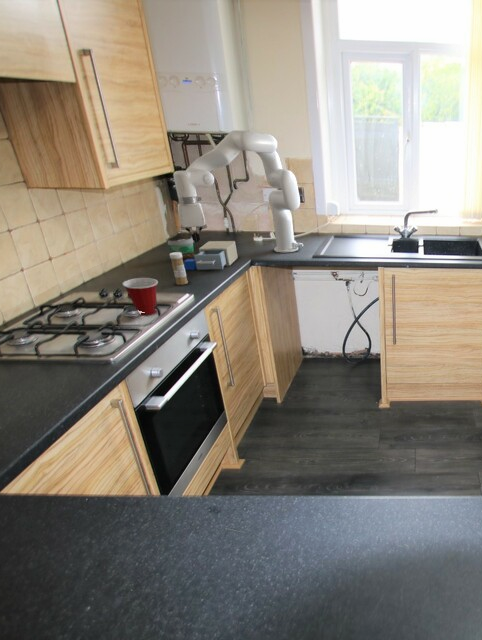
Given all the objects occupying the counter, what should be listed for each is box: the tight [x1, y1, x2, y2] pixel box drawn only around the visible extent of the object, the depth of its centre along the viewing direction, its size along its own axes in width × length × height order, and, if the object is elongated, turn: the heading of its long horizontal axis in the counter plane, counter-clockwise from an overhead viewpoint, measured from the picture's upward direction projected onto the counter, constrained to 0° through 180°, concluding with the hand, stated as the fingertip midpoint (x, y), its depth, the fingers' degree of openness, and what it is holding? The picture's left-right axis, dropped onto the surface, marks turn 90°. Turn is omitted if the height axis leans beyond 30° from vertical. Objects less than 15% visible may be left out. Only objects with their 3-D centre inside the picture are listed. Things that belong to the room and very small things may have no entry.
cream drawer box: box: [198, 240, 239, 267], centre depth 233 cm, size 15×13×9 cm
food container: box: [167, 236, 195, 261], centre depth 236 cm, size 12×6×10 cm, turn 143°
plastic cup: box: [121, 277, 159, 316], centre depth 171 cm, size 11×11×12 cm
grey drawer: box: [194, 250, 227, 271], centre depth 223 cm, size 18×11×7 cm, turn 8°
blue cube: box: [183, 258, 197, 271], centre depth 223 cm, size 4×4×4 cm
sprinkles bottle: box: [169, 252, 189, 286], centre depth 201 cm, size 5×5×13 cm
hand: (196, 241), depth 215 cm, fingers closed
